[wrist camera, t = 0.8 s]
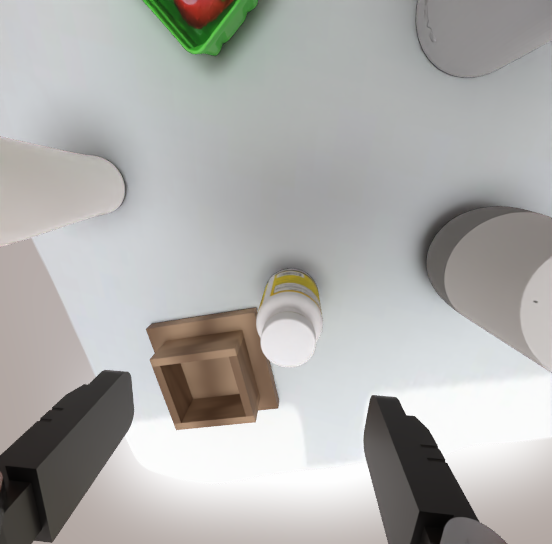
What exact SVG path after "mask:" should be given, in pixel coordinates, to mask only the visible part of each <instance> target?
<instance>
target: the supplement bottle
mask: <svg viewBox="0 0 552 544" xmlns="http://www.w3.org/2000/svg"><path fill="white" fill-rule="evenodd" d="M256 327H257V331H258V334H259V336H260V338H261V340H260V343H261V349H262V351H263V353H264V355H265V356H266V357H267V359H268V360H270V361H271V362H272V363H274V364H276V365H278V366H282V367H296V366H300V365H302V364H304V363H305V362H307V361H308V360H309V359H310V358H311V357H312V355H313V354H314V351H315V348H316V342H317V341H318V339H319V338H320V335H321V333H322V328H323V318H322V312H321V306H320V300H319V293H318V289H317V286H316V284H315V282H314V280H313V279H312V278H311V277H310V276H309V275H308V274H307V273H305V272H303V271H301V270H298V269H284V270H281V271H279V272H277V273H275V274H274V275H273V276H272V277H271V278H270V279H269V281H268V283H267V285H266V287H265V290H264V294H263V297H262V300H261V304H260V307H259V310H258V314H257V319H256Z"/></svg>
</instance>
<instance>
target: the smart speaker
mask: <svg viewBox="0 0 552 544" xmlns="http://www.w3.org/2000/svg"><path fill="white" fill-rule="evenodd" d="M427 272H428V276H429V279H430V281H431V284H432V286H433V287H434V289H435V291H436V292H437V293H438V295H439V296H440V297H441V298H442V299H443V300H444V301H445V302H446V303H447V304H448V305H449V306H451V307H452V308H453V309H454V310H456V311H457V312H459V313H460V314H461V315H463V316H464V317H466V318H467V319H469V320H470V321H472V322H473V323H475V324H476V325H478V326H480V327H481V328H483V329H484V330H486V331H487V332H489V333H490V334H492V335H494V336H495V337H497V338H498V339H500V340H501V341H503V342H504V343H506V344H508V345H509V346H511V347H512V348H514V349H515V350H517V351H518V352H520V353H522V354H523V355H525V356H526V357H528V358H529V359H531V360H533V361H534V362H536V363H537V364H539V365H540V366H542V367H543V368H545V369H547V370H548V371H550V372H551V373H552V218H551V217H549V216H546V215H543V214H539V213H535V212H532V211H528V210H524V209H519V208H513V207H502V206H496V207H485V208H479V209H475V210H471V211H468V212H466V213H463V214H461V215H459V216H457V217H455V218H454V219H452V220H451V221H449V222H448V223H447V224H446V225H445V226H444V227H442V229H441V230H440V231H439V232H438V233H437V234H436V236H435V237H434V239H433V241H432V243H431V245H430V247H429V250H428V254H427Z"/></svg>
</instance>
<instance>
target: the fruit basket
mask: <svg viewBox="0 0 552 544" xmlns="http://www.w3.org/2000/svg"><path fill="white" fill-rule="evenodd" d="M143 1H144V3H145V4H146V5H147V6H148V7H149V8H150V9H151V10H152V12H153V13H154V14H155V15H156V16H157V17H158V18H159V19H160V21H161V22H162V23H163V24H164V25H165V26H166V28H167V29H168V30H169V31H170V32H171V33H172V34H173V36H174V37H175V38H176V39H177V40H178V41H179V43H180V44H181V45H182V46H183V47H184V48H185V49H186V50H187V51H188V52H190V53H192V54H202V53H205V54H209V55H213V56H216V55H218V53H219V52H220V50H221V47H222V44H223V43H225V42H227V41H229V39H230V38H231V37H232V36H233V34H234V33H235V32H236V31H237V30H238V28H239V27H240V26H241V25H242V23H243V22H244V20H245V18H246V15H247V12H250V11H251V10H253V9H254V8H255V7H256V6H257V3H258V0H143Z"/></svg>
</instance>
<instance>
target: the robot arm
mask: <svg viewBox="0 0 552 544" xmlns="http://www.w3.org/2000/svg"><path fill="white" fill-rule="evenodd" d="M416 26H417V32H418V38H419V41H420V43H421V46H422V49H423V51H424V52H425V54H426V55H427V57H428V58H429V60H430V61H431V62H432V63H433V64H434V65H435V66H436V67H438V68H439V69H440V70H442V71H444V72H446V73H448V74H450V75H454V76H458V77H478V76H482V75H486V74H489V73H492V72H494V71H496V70H498V69H500V68H502V67H504V66H506V65H507V64H509V63H511V62H513V61H515V60H517V59H519V58H520V57H522V56H524V55H526V54H528V53H530V52H532V51H533V50H535V49H537V48H539V47H541V46H543V45H545V44H547V43H548V42H550V41H552V0H418V4H417V12H416ZM133 415H134V404H133V392H132V381H131V375H130V373H129V372H123V371H112V370H104V371H102V372H101V373H100V374H99V375H98V376H97V377H96V378H95V379H94V380H93V381H92V382H91V383H90V384H88V385H85V384H84V385H82V386H81V387H79V388H77V389H75V390H74V391H72V392H70V393H68V394H67V395H65V396H64V397H63V398H62V399H61V400H60V401H59V402H58V403H57V404H56V405H55V406H53V407H52V410H49V411H48V412H47V413H46V414H45V415H44V416H43V417H41V419H40V421H37V422H36V423H35V424H34V425H33V426H32V427H31V428H30V429H28V430H27V431H26V432H25V433H24V434H23V435H22V436H21V437H20V438H19V439H18V440H16V441H15V442H14V443H13V444H12V445H11V446H10V447H9V448H8V449H7V450H6V451H5V452H4V453H2V454H1V455H0V544H31V543H32V542H33V541H43V542H51V543H52V542H53V541H54V539H55V538H56V536H57V535H58V533H59V532H60V530H61V529H62V528H63V526H64V524H65V523H66V522H67V520H68V519H69V517H70V516H71V514H72V512H73V511H74V510H75V508H76V507H77V505H78V504H79V502H80V501H81V499H82V498H83V496H84V495H85V493H86V492H87V491H88V489H89V488H90V486H91V485H92V483H93V482H94V480H95V478H96V477H97V476H98V474H99V473H100V471H101V470H102V468H103V467H104V465H105V464H106V462H107V461H108V459H109V458H110V456H111V455H112V454H113V452H114V451H115V449H116V448H117V446H118V445H119V443H120V442H121V440H122V438H123V437H124V436H125V434H126V433H127V431H128V430H129V428H130V426H131V423H132V420H133ZM364 452H365V457H366V460H367V464H368V468H369V472H370V476H371V479H372V483H373V487H374V491H375V495H376V498H377V502H378V506H379V510H380V513H381V517H382V521H383V525H384V528H385V532H386V537H387V540H388V544H507V543H506V542H505V541H504V540H503V539H502V538H501V537H500V536H499V535H498V534H496V533H495V532H494V531H493V530H492V529H490V528H489V527H487V526H485V525H484V524H482V523H480V522H479V520H478V519H477V517H476V515H475V513H474V511H473V509H472V508H471V506H470V504H469V502H468V500H467V499H466V497H465V495H464V493H463V491H462V489H461V488H460V486H459V484H458V482H457V480H456V479H455V477H454V475H453V473H452V471H451V469H450V468H449V466H448V464H447V463H445V459H444V457H443V455H442V453H441V451H440V449H438V446H437V444H436V442H435V440H434V438H433V437H432V435H431V433H430V431H429V430H428V429H427V428H426V427H425V426H424V425H423V424H422V423H421V422H420V421H419V420H418V419H417V418H416V417H415V416H407V415H406V414H405V412H404V410H403V408H402V406H401V404H400V402H399V400H398V399H397V398H396V397H388V396H377V395H372V396H371V398H370V403H369V408H368V414H367V419H366V424H365V430H364Z"/></svg>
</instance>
